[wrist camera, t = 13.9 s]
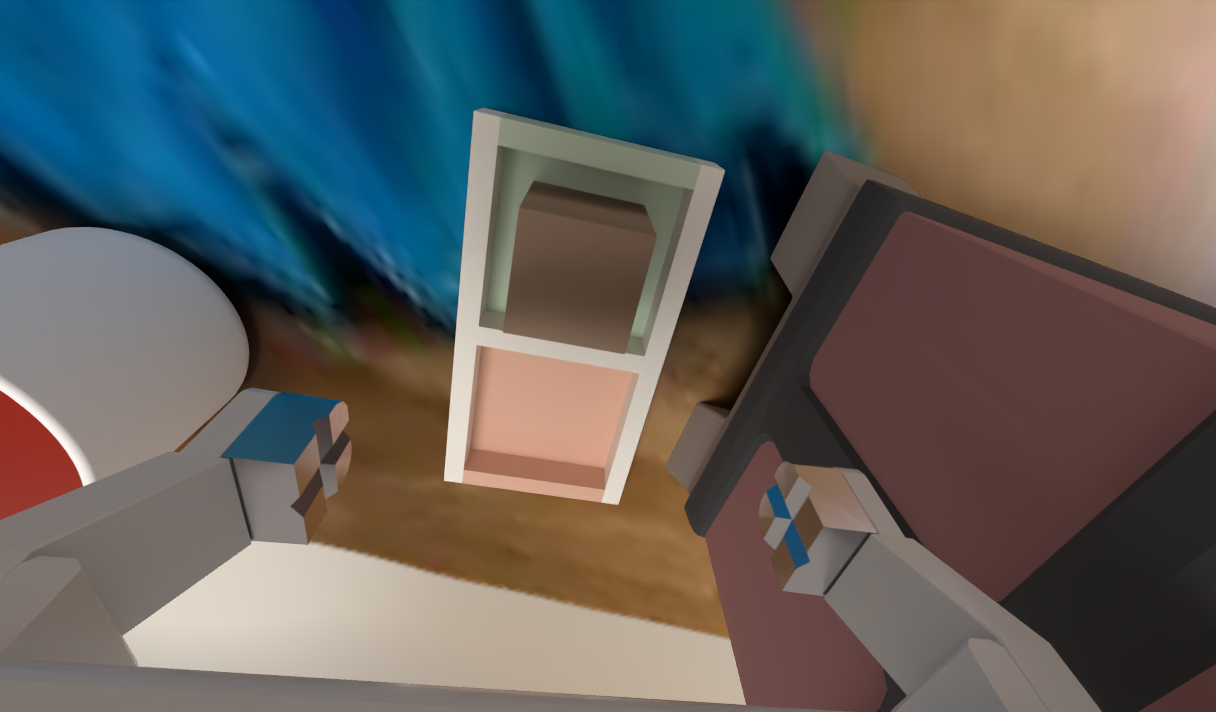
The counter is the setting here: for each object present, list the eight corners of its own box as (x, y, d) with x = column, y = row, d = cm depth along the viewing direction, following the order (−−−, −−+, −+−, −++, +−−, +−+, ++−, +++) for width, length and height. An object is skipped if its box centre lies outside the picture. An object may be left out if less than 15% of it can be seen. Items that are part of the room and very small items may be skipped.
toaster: (1091, 567, 37) (1565, 1036, 19) (663, 467, 31) (764, 1020, 13) (1354, 350, 28) (2721, 849, 10) (824, 148, 22) (1903, 500, 4)
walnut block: (533, 180, 22) (519, 207, 17) (644, 205, 22) (656, 236, 18) (518, 285, 24) (502, 332, 20) (619, 305, 25) (625, 354, 20)
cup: (200, 207, 22) (-53, 295, 13) (294, 393, 27) (153, 544, 18) (-17, 231, 22) (-404, 333, 14) (116, 411, 27) (-106, 569, 19)
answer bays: (483, 107, 20) (473, 110, 19) (714, 162, 22) (725, 170, 20) (452, 456, 29) (443, 480, 28) (616, 480, 31) (618, 504, 29)
